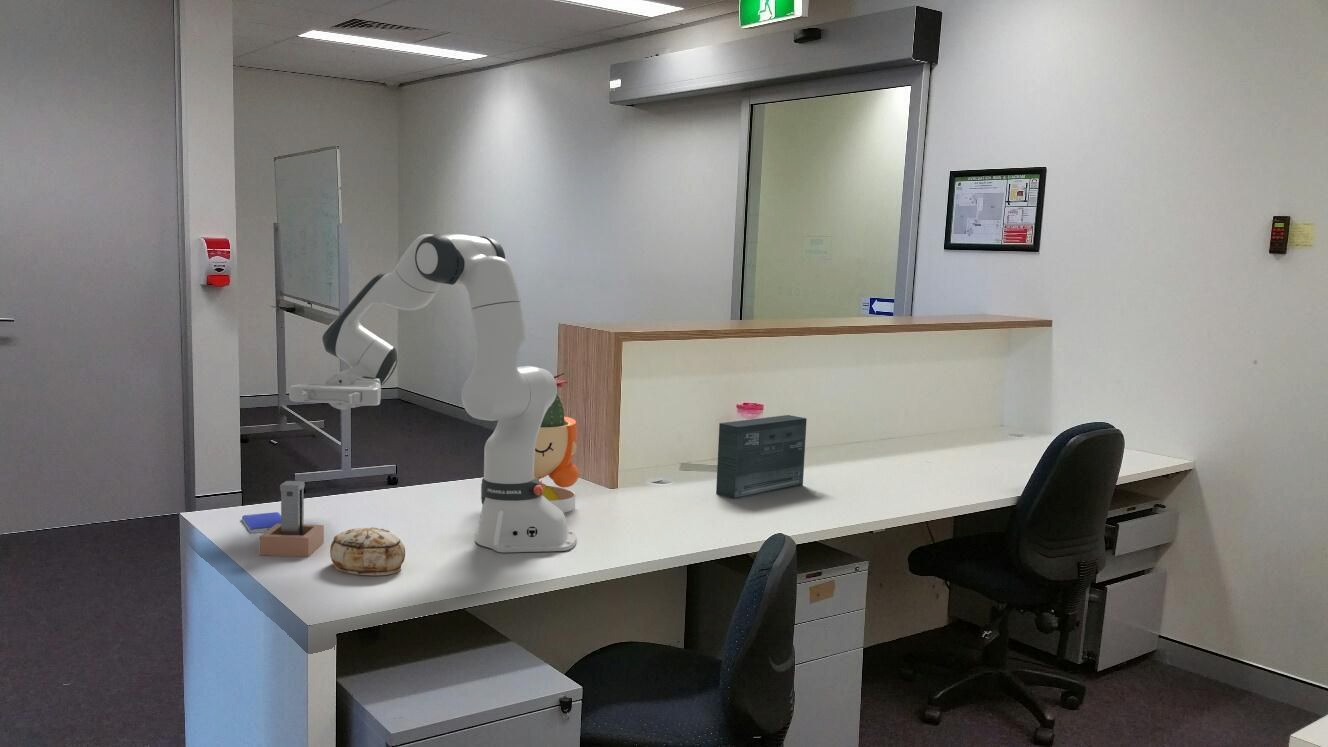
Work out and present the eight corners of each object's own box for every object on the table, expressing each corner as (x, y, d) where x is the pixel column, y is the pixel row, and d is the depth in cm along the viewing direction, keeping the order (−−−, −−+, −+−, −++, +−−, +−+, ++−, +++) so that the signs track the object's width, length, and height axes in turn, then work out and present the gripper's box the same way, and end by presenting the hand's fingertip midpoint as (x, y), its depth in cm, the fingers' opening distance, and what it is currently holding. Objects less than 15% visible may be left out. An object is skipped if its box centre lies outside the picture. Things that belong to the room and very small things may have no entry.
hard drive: (242, 515, 232) (250, 528, 221) (279, 511, 236) (289, 524, 226) (242, 521, 232) (250, 535, 221) (279, 518, 236) (289, 531, 226)
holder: (323, 542, 216) (323, 524, 216) (308, 556, 206) (308, 537, 206) (277, 541, 216) (277, 523, 215) (259, 555, 206) (259, 536, 206)
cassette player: (784, 481, 296) (788, 414, 294) (802, 485, 291) (806, 418, 289) (716, 494, 276) (719, 423, 274) (734, 499, 271) (737, 426, 269)
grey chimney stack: (304, 541, 213) (304, 481, 211) (298, 547, 209) (298, 485, 208) (286, 541, 213) (286, 480, 211) (280, 546, 209) (280, 484, 208)
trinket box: (402, 578, 196) (402, 539, 195) (322, 579, 193) (323, 539, 192) (408, 557, 209) (409, 521, 208) (334, 558, 206) (334, 521, 205)
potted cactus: (562, 517, 245) (566, 376, 241) (479, 508, 251) (482, 370, 246) (591, 498, 266) (595, 367, 262) (514, 489, 271) (517, 362, 267)
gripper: (300, 375, 237) (279, 382, 223) (386, 378, 237) (371, 386, 224) (300, 401, 238) (279, 410, 224) (386, 404, 238) (370, 414, 224)
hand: (325, 398), depth 224 cm, fingers open, 8 cm apart
